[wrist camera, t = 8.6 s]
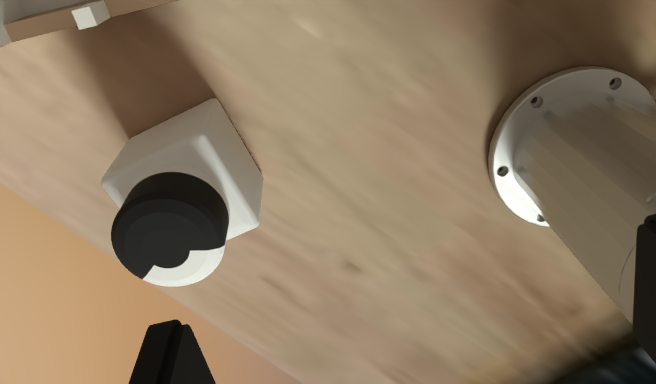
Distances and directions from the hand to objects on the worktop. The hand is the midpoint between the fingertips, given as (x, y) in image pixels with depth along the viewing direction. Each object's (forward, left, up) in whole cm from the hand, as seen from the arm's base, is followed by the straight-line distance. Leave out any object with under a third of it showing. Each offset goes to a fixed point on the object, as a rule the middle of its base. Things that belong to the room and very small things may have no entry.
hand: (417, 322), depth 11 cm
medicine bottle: (+11, +6, -29) cm, 31 cm away
